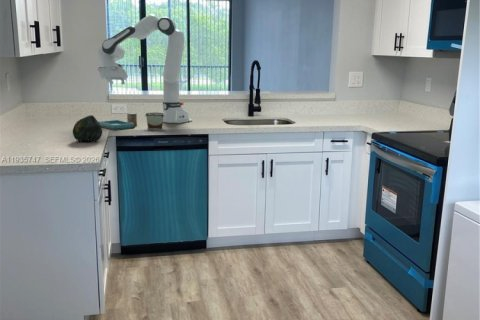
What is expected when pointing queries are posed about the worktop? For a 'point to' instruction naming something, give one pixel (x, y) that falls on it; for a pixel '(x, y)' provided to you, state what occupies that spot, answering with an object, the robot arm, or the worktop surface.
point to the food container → (154, 120)
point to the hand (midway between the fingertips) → (117, 83)
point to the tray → (116, 124)
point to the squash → (87, 129)
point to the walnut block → (132, 118)
